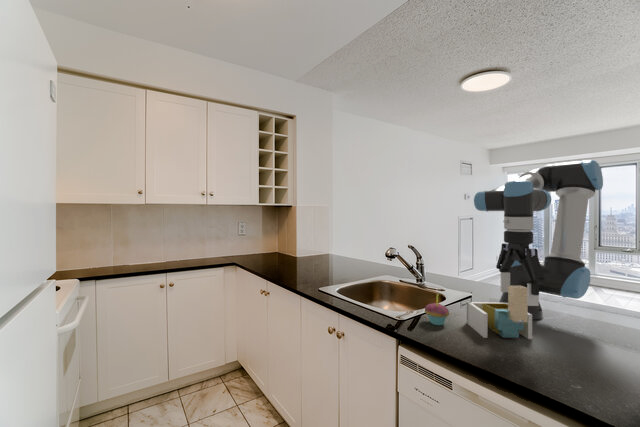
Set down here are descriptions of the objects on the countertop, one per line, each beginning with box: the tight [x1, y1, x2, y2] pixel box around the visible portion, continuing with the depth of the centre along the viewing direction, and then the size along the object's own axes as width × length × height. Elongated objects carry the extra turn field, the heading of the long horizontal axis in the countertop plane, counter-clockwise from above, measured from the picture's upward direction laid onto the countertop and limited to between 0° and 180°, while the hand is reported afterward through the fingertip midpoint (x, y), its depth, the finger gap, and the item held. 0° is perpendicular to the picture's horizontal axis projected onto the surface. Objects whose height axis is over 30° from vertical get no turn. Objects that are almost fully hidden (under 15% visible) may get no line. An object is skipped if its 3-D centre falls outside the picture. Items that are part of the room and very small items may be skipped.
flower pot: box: [482, 302, 508, 335], centre depth 99 cm, size 9×9×9 cm
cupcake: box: [424, 292, 450, 326], centre depth 108 cm, size 9×8×12 cm
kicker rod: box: [495, 285, 528, 339], centre depth 91 cm, size 8×7×18 cm
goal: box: [466, 301, 533, 340], centre depth 101 cm, size 15×12×8 cm
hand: (518, 298), depth 90 cm, fingers open, 13 cm apart
